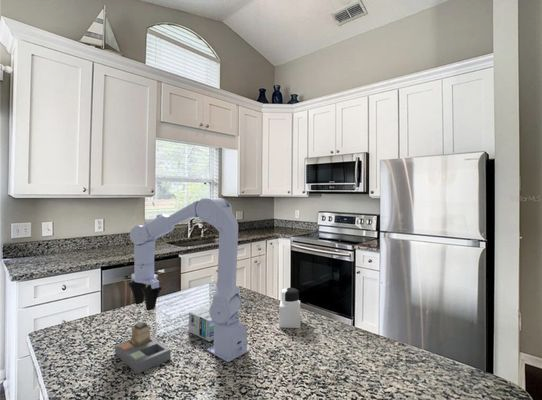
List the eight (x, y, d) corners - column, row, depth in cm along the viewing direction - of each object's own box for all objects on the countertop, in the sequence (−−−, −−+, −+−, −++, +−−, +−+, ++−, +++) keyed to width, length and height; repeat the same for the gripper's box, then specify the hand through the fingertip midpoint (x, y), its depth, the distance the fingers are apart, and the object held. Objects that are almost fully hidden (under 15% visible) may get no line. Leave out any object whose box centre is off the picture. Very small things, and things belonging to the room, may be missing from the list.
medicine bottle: (300, 319, 105) (300, 286, 105) (300, 328, 98) (300, 292, 98) (280, 319, 106) (280, 285, 106) (279, 327, 99) (278, 292, 99)
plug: (149, 347, 85) (149, 323, 85) (139, 353, 82) (139, 327, 82) (142, 345, 87) (142, 320, 87) (131, 350, 84) (131, 325, 84)
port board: (170, 358, 80) (170, 348, 80) (137, 373, 73) (137, 362, 73) (146, 342, 89) (146, 332, 89) (115, 354, 83) (115, 343, 83)
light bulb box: (188, 332, 96) (208, 343, 89) (188, 311, 96) (209, 320, 89) (213, 321, 104) (234, 330, 97) (214, 302, 104) (235, 310, 97)
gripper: (168, 264, 90) (168, 308, 90) (146, 258, 100) (146, 297, 100) (145, 268, 85) (146, 315, 85) (124, 261, 94) (125, 303, 95)
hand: (144, 306), depth 92 cm, fingers open, 7 cm apart
